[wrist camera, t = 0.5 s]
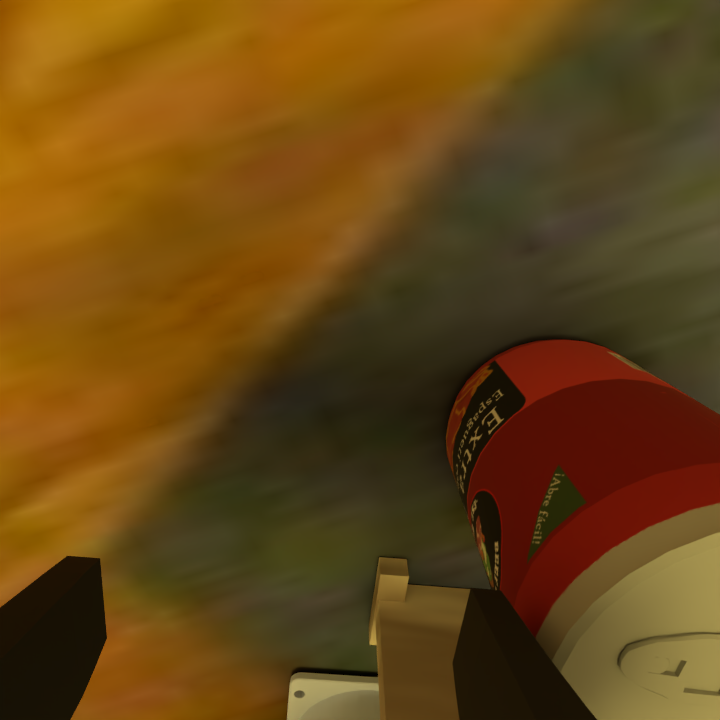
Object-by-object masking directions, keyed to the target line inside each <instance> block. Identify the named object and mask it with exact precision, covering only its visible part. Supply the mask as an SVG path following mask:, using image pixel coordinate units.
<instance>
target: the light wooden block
mask: <svg viewBox="0 0 720 720" xmlns="http://www.w3.org/2000/svg"><path fill="white" fill-rule="evenodd" d="M408 579H409V573H408V566H407V559H398V558H385V557H379V562H378V569H377V575H376V582H375V589H374V595H373V602H372V608H371V615H370V621H369V644H370V645H377V663H378V683H379V704H380V720H459V713H458V706H457V698H456V690H455V682H454V673H453V664H452V662H453V658H454V654H455V650H456V646H457V642H458V638H459V634H460V630H461V626H462V622H463V617H464V613H465V609H466V605H467V601H468V597H469V593H470V589H462V588H449V587H436V586H422V585H409V584H408Z"/></svg>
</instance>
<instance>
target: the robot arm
mask: <svg viewBox="0 0 720 720" xmlns="http://www.w3.org/2000/svg"><path fill="white" fill-rule="evenodd" d="M106 639H107V635H106V624H105V612H104V600H103V589H102V577H101V565H100V558H87V557H75V556H67V557H65V558H64V559H63V560H61V561H60V562H59V563H57V564H56V565H55V566H54V567H52V568H51V569H50V570H48V571H47V572H46V573H44V574H43V575H42V576H40V577H39V578H38V579H37V580H35V581H34V582H33V583H31V584H30V585H29V586H28V587H26V588H25V589H24V590H22V591H21V592H20V593H19V594H17V595H16V596H15V597H13V598H12V599H11V600H10V601H8V602H7V603H6V604H4V605H3V606H2V607H0V720H70V719H71V717H72V715H73V713H74V712H75V710H76V708H77V706H78V704H79V702H80V700H81V698H82V696H83V694H84V692H85V689H86V687H87V685H88V682H89V680H90V678H91V675H92V673H93V671H94V668H95V666H96V663H97V661H98V659H99V656H100V654H101V651H102V649H103V646H104V644H105V641H106ZM452 664H453V673H454V682H455V690H456V698H457V706H458V713H459V720H597V719H596V718H595V716H594V715H593V714H592V713H591V711H590V710H589V709H588V708H587V706H586V705H585V704H584V702H583V701H582V700H581V698H580V697H579V696H578V695H577V693H576V692H575V691H574V689H573V688H572V687H571V685H570V684H569V683H568V682H567V680H566V679H565V678H564V676H563V675H562V674H561V672H560V671H559V670H558V668H557V667H556V666H555V664H554V663H553V662H552V660H551V659H550V658H549V656H548V655H547V654H546V652H545V651H544V649H543V648H542V647H541V645H540V644H539V643H538V641H537V640H536V638H535V637H534V636H533V634H532V633H531V631H530V630H529V629H528V627H527V626H526V624H525V623H524V622H523V620H522V619H521V617H520V616H519V615H518V613H517V612H516V610H515V609H514V608H513V606H512V605H511V603H510V602H509V601H508V599H507V598H506V596H505V595H504V594H503V593H502V591H501V590H488V589H476V588H471V589H470V593H469V597H468V601H467V605H466V609H465V613H464V617H463V622H462V626H461V630H460V634H459V638H458V642H457V646H456V650H455V654H454V658H453V662H452ZM287 720H380V704H379V683H378V677H366V676H351V675H335V674H320V673H305V672H299V673H296V674H294V675H292V676H291V679H290V687H289V699H288V711H287Z"/></svg>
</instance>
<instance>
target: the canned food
mask: <svg viewBox="0 0 720 720" xmlns="http://www.w3.org/2000/svg"><path fill="white" fill-rule="evenodd" d="M446 446H447V456H448V460H449V463H450V466H451V469H452V472H453V475H454V478H455V481H456V484H457V487H458V490H459V493H460V496H461V499H462V502H463V505H464V508H465V511H466V514H467V517H468V520H469V523H470V526H471V529H472V532H473V535H474V538H475V541H476V544H477V547H478V550H479V553H480V556H481V559H482V562H483V565H484V568H485V571H486V574H487V577H488V580H489V583H490V586H491V589H492V590H501V591H502V593H503V594H504V595H505V596H506V598H507V599H508V601H509V602H510V603H511V605H512V606H513V608H514V609H515V610H516V612H517V613H518V615H519V616H520V617H521V619H522V620H523V622H524V623H525V624H526V626H527V627H528V629H529V630H530V631H531V633H532V634H533V636H534V637H535V638H536V640H537V641H538V643H539V644H540V645H541V647H542V648H543V649H544V651H545V652H546V654H547V655H548V656H549V658H550V659H551V660H552V662H553V663H554V664H555V666H556V667H557V668H558V670H559V671H560V672H561V674H562V675H563V676H564V678H565V679H566V680H567V682H568V683H569V684H570V685H571V687H572V688H573V689H574V691H575V692H576V693H577V695H578V696H579V697H580V698H581V700H582V701H583V702H584V704H585V705H586V706H587V708H588V709H589V710H590V711H591V713H592V714H593V715H594V716H595V718H596V719H597V720H720V415H719V414H718V413H716V412H714V411H713V410H711V409H709V408H708V407H706V406H704V405H703V404H701V403H699V402H698V401H696V400H694V399H693V398H691V397H689V396H688V395H686V394H684V393H683V392H681V391H679V390H678V389H676V388H674V387H673V386H671V385H669V384H668V383H666V382H664V381H663V380H661V379H660V378H658V377H656V376H655V375H653V374H651V373H650V372H648V371H646V370H645V369H643V368H641V367H640V366H638V365H636V364H635V363H633V362H631V361H630V360H628V359H626V358H625V357H623V356H621V355H619V354H617V353H615V352H613V351H612V350H610V349H608V348H606V347H603V346H599V345H596V344H592V343H589V342H585V341H574V340H558V339H554V340H543V341H534V342H530V343H526V344H522V345H519V346H515V347H513V348H511V349H509V350H507V351H504V352H502V353H500V354H498V355H496V356H495V357H493V358H492V359H491V360H489V361H488V362H486V363H485V364H483V365H482V366H481V367H480V368H479V369H478V370H477V371H476V372H475V373H474V374H473V375H472V376H471V377H470V378H469V379H468V380H467V381H466V383H465V385H464V386H463V388H462V389H461V391H460V392H459V394H458V395H457V398H456V400H455V403H454V405H453V408H452V411H451V414H450V417H449V421H448V427H447V434H446Z"/></svg>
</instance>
